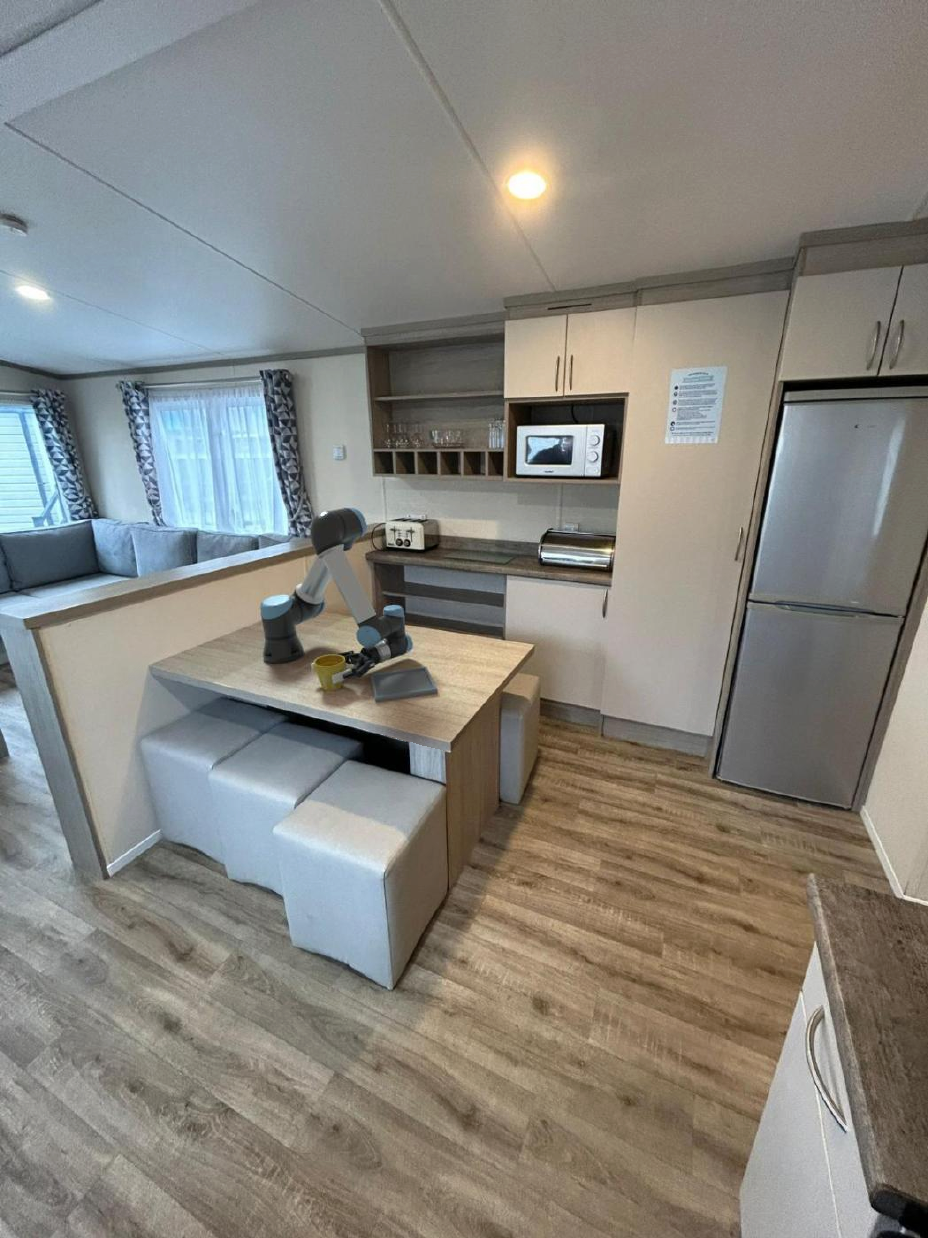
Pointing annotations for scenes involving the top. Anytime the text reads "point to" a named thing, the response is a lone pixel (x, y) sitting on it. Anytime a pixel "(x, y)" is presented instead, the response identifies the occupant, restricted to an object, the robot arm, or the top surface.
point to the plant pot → (329, 670)
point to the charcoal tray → (402, 684)
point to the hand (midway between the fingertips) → (322, 673)
